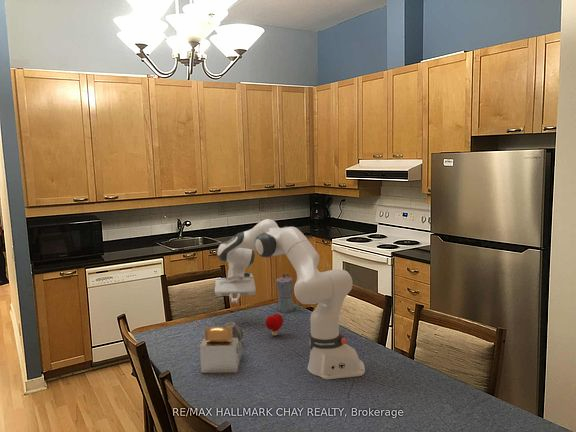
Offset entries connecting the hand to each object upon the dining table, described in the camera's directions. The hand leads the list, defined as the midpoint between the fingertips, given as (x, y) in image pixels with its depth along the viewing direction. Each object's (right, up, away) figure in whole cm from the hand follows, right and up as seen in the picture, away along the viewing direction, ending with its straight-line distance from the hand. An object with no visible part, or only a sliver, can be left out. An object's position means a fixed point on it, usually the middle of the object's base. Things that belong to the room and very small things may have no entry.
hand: (234, 302), depth 237 cm
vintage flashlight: (0, -16, -18) cm, 24 cm away
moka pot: (+25, -9, +27) cm, 38 cm away
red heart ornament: (+20, -14, -9) cm, 26 cm away
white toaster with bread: (-1, -18, -37) cm, 42 cm away
